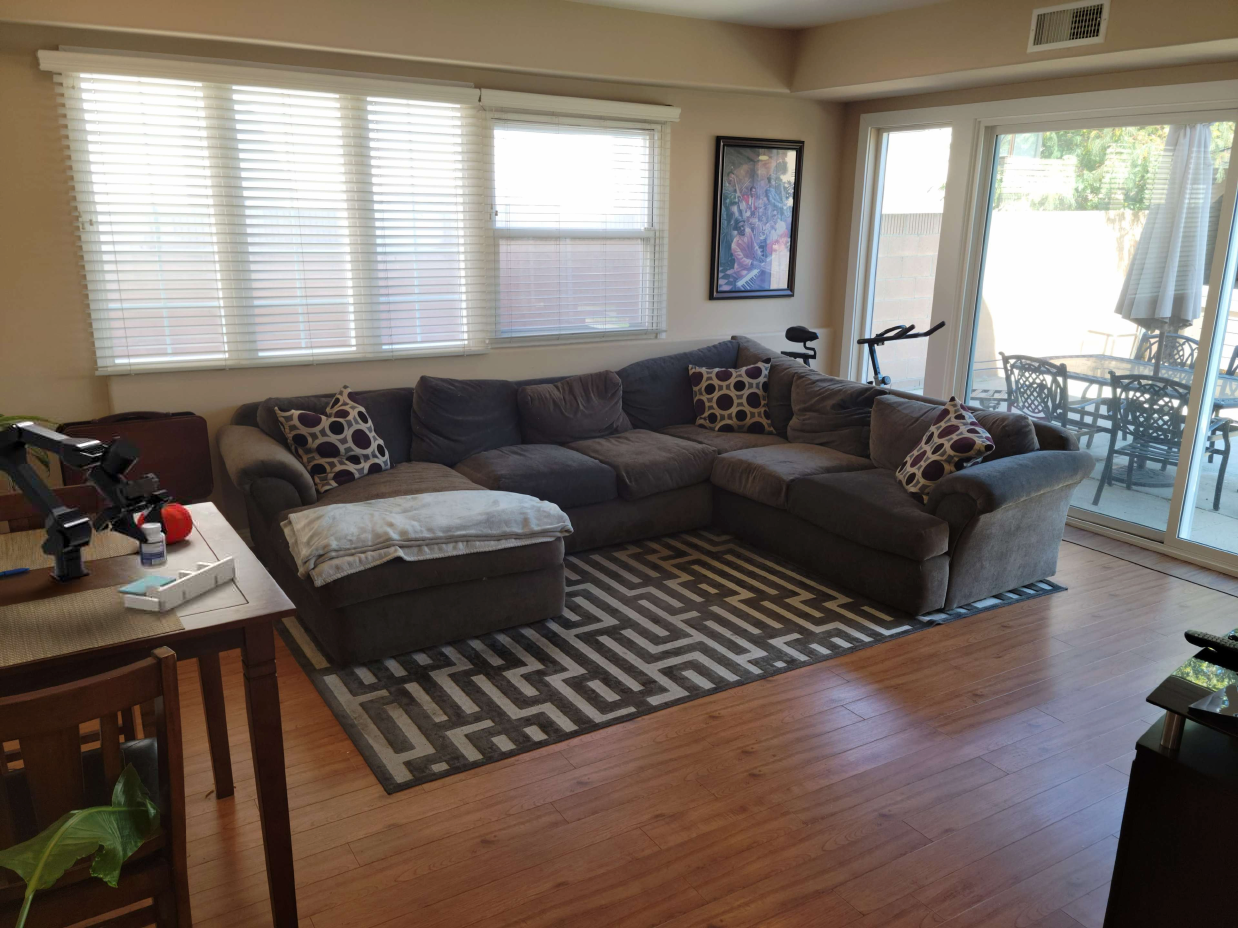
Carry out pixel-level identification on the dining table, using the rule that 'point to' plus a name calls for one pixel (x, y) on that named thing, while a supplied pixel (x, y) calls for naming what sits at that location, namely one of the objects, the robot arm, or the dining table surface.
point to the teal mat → (140, 585)
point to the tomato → (174, 522)
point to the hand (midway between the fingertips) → (156, 538)
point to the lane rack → (184, 586)
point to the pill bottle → (153, 547)
